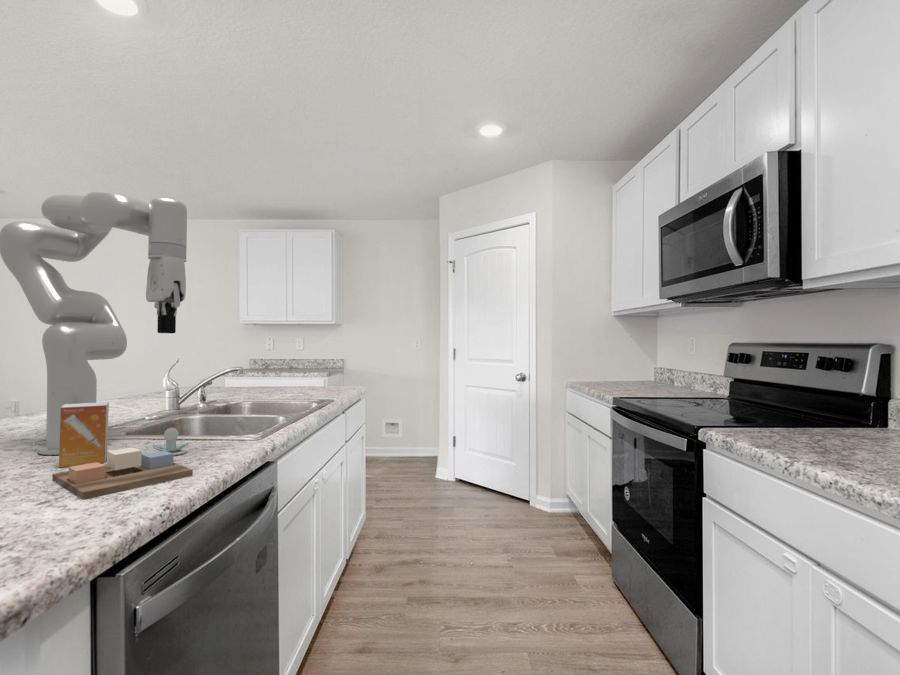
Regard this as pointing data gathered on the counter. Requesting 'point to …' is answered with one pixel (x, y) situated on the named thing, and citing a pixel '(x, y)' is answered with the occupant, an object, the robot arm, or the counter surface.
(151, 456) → the blue cube
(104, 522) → the counter surface
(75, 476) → the pink square block
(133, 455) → the cream cube
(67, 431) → the small box
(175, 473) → the walnut board
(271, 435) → the counter surface
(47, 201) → the robot arm
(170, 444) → the pacifier
